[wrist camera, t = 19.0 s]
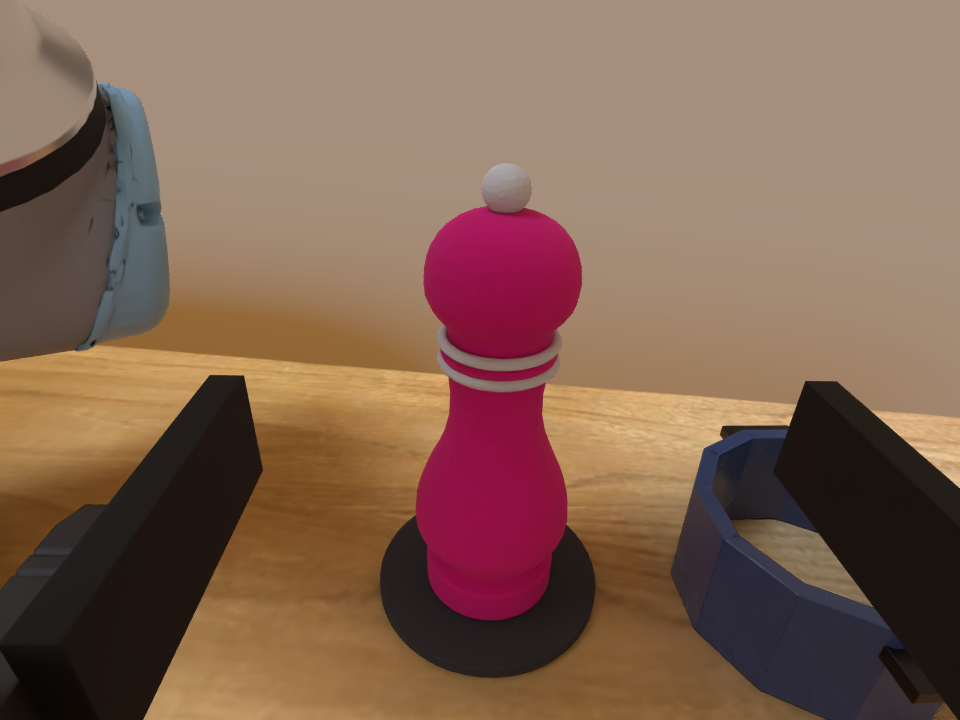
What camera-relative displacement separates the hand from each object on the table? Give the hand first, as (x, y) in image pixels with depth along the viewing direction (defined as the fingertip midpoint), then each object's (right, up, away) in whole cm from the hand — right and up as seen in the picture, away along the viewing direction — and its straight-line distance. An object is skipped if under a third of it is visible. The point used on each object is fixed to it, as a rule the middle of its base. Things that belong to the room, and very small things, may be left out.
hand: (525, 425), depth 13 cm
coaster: (-1, -10, +16) cm, 19 cm away
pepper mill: (-1, -9, +16) cm, 18 cm away
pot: (+15, -11, +15) cm, 24 cm away
